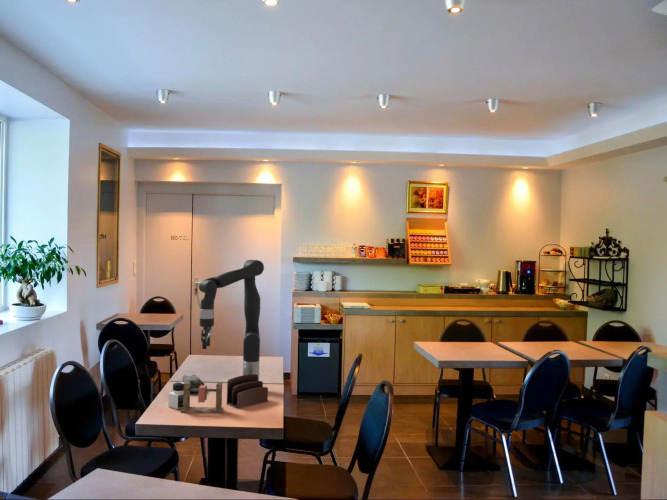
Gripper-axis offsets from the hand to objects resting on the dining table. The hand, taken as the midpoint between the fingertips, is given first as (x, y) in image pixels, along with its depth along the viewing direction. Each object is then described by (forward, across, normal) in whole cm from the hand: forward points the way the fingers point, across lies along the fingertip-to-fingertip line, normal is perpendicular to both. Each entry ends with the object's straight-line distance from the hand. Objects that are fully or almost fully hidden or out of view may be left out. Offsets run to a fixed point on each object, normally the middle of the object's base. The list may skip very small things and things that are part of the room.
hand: (206, 347), depth 275 cm
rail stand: (+28, -19, -3) cm, 34 cm away
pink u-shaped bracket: (+23, -19, -3) cm, 30 cm away
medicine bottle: (+28, -12, +11) cm, 33 cm away
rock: (+28, +18, +10) cm, 36 cm away
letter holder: (+28, -4, -23) cm, 37 cm away
